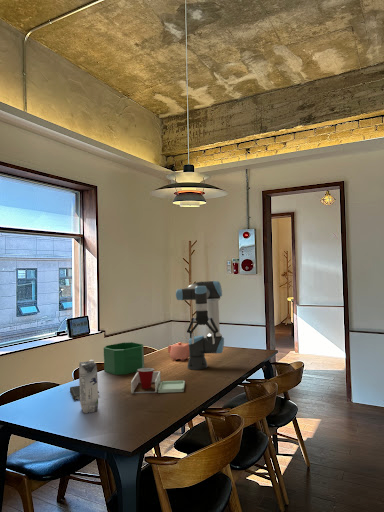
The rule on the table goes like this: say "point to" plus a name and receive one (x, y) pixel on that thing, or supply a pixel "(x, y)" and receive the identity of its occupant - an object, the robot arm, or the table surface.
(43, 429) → the table surface
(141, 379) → the plastic cup
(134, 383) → the frame
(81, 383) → the juice carton
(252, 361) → the table surface
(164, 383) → the tray
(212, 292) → the robot arm
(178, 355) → the teapot
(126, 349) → the planter
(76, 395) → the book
